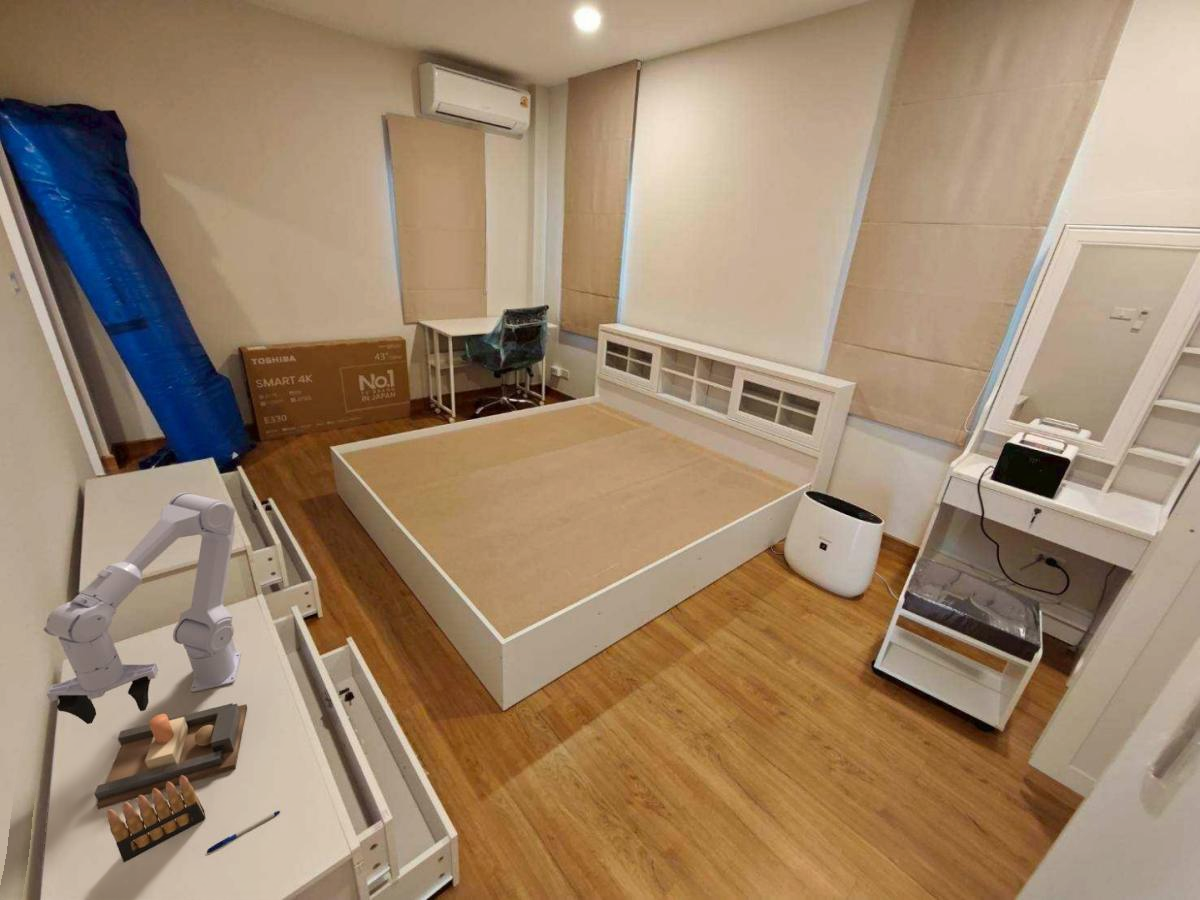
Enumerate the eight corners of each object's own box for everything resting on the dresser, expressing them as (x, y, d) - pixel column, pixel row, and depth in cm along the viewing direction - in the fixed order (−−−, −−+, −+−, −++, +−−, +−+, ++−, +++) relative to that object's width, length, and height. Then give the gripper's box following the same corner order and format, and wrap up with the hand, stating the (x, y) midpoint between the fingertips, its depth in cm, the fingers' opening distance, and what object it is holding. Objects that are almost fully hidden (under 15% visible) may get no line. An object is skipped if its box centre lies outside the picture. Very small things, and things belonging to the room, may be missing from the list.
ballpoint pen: (208, 856, 83) (206, 852, 83) (207, 851, 84) (205, 848, 83) (280, 814, 90) (279, 810, 89) (279, 809, 90) (278, 806, 90)
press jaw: (163, 735, 98) (151, 705, 95) (188, 729, 100) (177, 699, 97) (150, 773, 92) (136, 742, 88) (177, 765, 94) (165, 735, 90)
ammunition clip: (204, 810, 89) (187, 767, 84) (205, 819, 88) (188, 776, 83) (123, 852, 82) (100, 808, 77) (123, 862, 81) (100, 819, 76)
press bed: (126, 739, 99) (119, 721, 97) (247, 707, 107) (242, 691, 105) (98, 809, 87) (88, 790, 85) (235, 768, 96) (229, 750, 94)
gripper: (27, 690, 82) (56, 744, 88) (140, 666, 88) (160, 718, 94) (48, 658, 88) (74, 711, 93) (153, 637, 94) (171, 688, 99)
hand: (118, 712), depth 94 cm, fingers open, 7 cm apart
